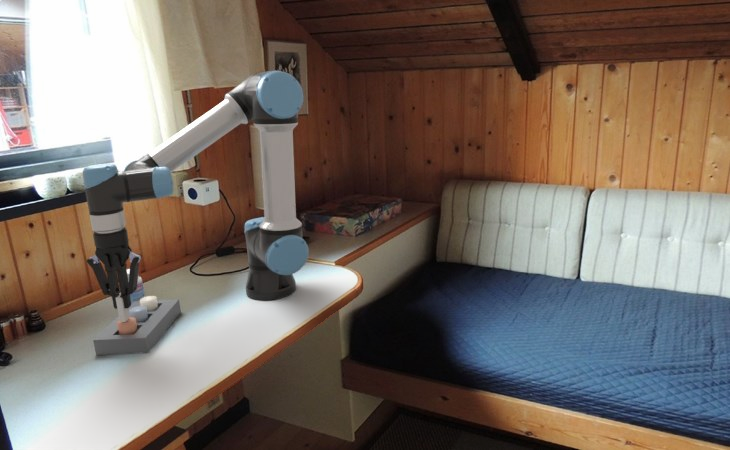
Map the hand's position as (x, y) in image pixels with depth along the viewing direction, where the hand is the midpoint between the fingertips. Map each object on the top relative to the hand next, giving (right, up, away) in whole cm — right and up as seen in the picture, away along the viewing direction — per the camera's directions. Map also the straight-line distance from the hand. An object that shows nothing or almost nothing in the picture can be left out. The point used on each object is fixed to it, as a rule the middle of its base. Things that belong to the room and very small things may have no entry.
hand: (124, 319), depth 144 cm
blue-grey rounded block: (+1, -2, +8) cm, 8 cm away
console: (+1, -5, +9) cm, 10 cm away
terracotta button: (0, -4, +1) cm, 4 cm away
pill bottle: (-8, -1, +26) cm, 27 cm away
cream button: (+1, 0, +15) cm, 15 cm away
